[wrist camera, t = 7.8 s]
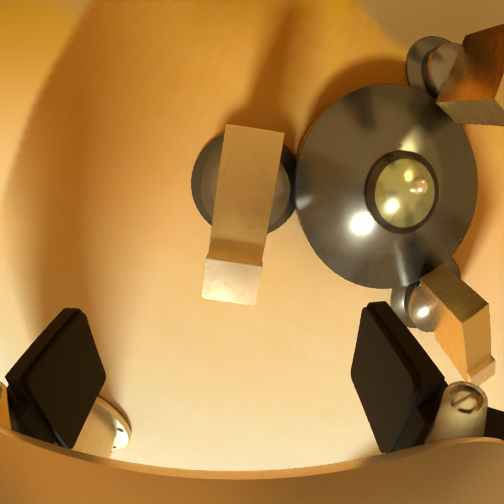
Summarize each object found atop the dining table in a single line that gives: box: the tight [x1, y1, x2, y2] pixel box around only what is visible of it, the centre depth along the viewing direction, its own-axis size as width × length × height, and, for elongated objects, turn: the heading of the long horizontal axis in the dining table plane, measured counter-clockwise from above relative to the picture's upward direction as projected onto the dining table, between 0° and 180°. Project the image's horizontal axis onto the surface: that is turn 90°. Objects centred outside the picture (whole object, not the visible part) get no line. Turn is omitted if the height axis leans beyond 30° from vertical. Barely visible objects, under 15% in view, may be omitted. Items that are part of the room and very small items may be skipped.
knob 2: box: [404, 264, 495, 386], centre depth 18 cm, size 7×5×8 cm
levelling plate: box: [191, 36, 478, 328], centre depth 18 cm, size 22×24×3 cm
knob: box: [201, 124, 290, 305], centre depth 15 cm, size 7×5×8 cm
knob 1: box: [421, 24, 504, 126], centre depth 12 cm, size 7×5×8 cm
